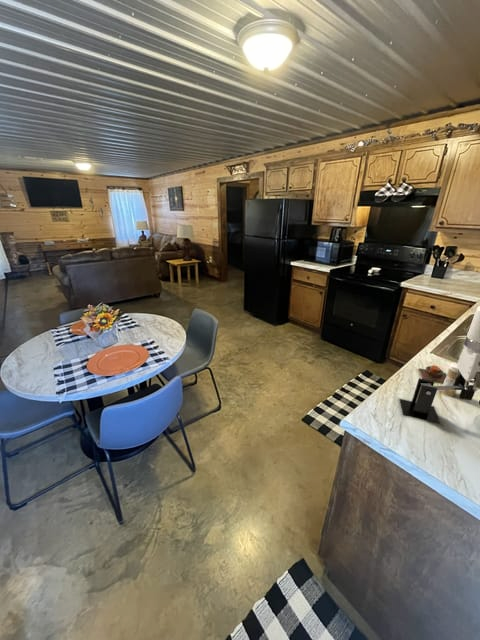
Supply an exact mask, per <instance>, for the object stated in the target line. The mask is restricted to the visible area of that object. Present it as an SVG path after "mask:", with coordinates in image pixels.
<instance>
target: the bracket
mask: <svg viewBox="0 0 480 640" xmlns="http://www.w3.org/2000/svg"><path fill="white" fill-rule="evenodd" d="M421 383H430V384H431V386H435V385H434V384H435V382H434V381H430V380H425V379H422V378H418V380H417V383H416V387H415V390H414V393H413V395H412V398H411V400H406V399H402V398H399V404H400V408H401V412H402V415H403V416H406V417H410V418H414V419H418V420H423V421H425V422H430V423H434V424H439V425H441V422H440V419H439V417H438V414H437V411H436V409H435V407H434V405H433V403H434V400H435V398H436V394H437V391H438V390H437V388H435V387H430V386H425V385H421Z"/></svg>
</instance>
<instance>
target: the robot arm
mask: <svg viewBox="0 0 480 640" xmlns="http://www.w3.org/2000/svg"><path fill="white" fill-rule="evenodd" d="M472 317H473V318H472V321H471V323H470V326H469V329H468V330H467V335H466V337H465V340H464V342H463V346H462V347H463V349H462V351H461V353H460V355H459V358H458V361H457V363H458V364H457V367H458V373H457V375H456V376H457V377H456V379H455V382H454V385H453V386H459V385H458V382H463V384H464V385H465V386H464V388H463V387H462V390H460V393H459V395H458V398H459V399H460V400H465V401H472V400H473V398H474V396H475V393H476V392H477V391H478V390H479V391H480V305H479V306H478V307H477V308H476V309H475V312H474V315H473V316H472Z"/></svg>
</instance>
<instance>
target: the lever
mask: <svg viewBox="0 0 480 640" xmlns="http://www.w3.org/2000/svg"><path fill="white" fill-rule="evenodd" d="M421 385H425V386H430V387H435V388H437V391H441V390H456V391H461V390H462V387H463V388H464V386H465V385H464V384H463V382H458V385H459V386H443V385H433V386H431V384H430V383H421Z"/></svg>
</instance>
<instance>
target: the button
mask: <svg viewBox="0 0 480 640" xmlns="http://www.w3.org/2000/svg"><path fill="white" fill-rule="evenodd" d="M430 366H431V368H430V370H431V371H433V372H436V373H439V370H440V369H441V367H439V366H437V365H433V364H432V365H430Z"/></svg>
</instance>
